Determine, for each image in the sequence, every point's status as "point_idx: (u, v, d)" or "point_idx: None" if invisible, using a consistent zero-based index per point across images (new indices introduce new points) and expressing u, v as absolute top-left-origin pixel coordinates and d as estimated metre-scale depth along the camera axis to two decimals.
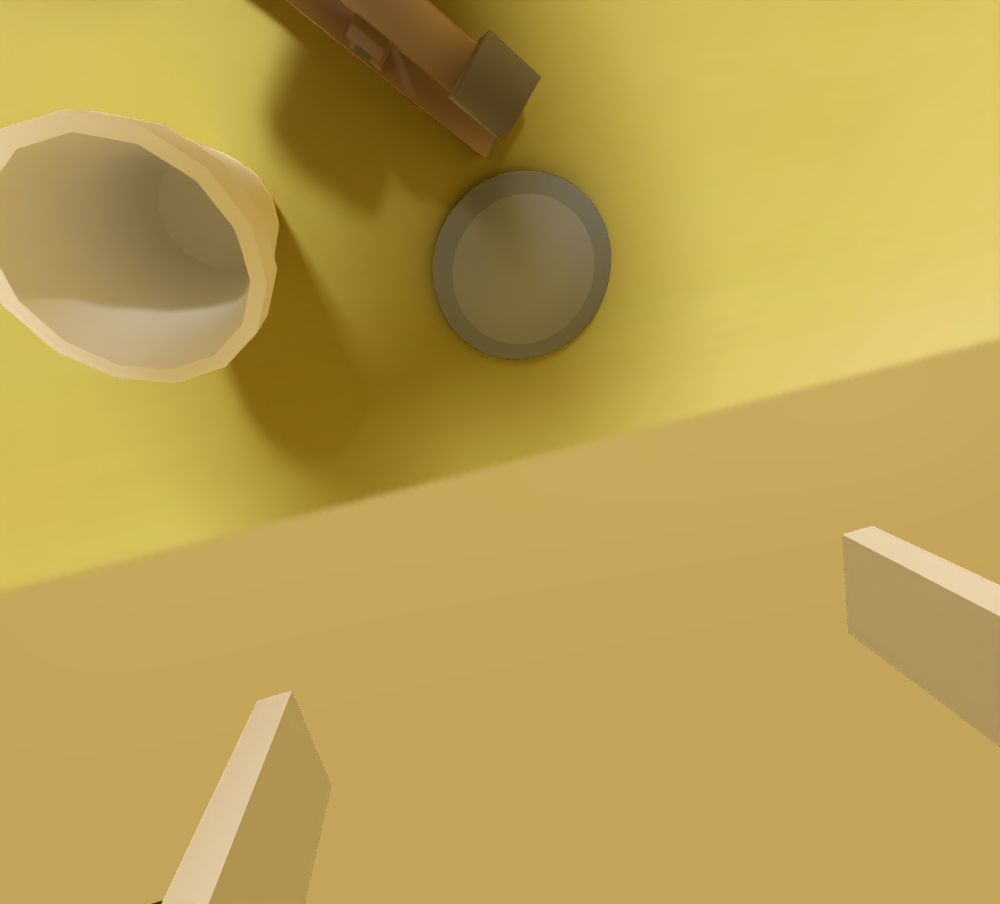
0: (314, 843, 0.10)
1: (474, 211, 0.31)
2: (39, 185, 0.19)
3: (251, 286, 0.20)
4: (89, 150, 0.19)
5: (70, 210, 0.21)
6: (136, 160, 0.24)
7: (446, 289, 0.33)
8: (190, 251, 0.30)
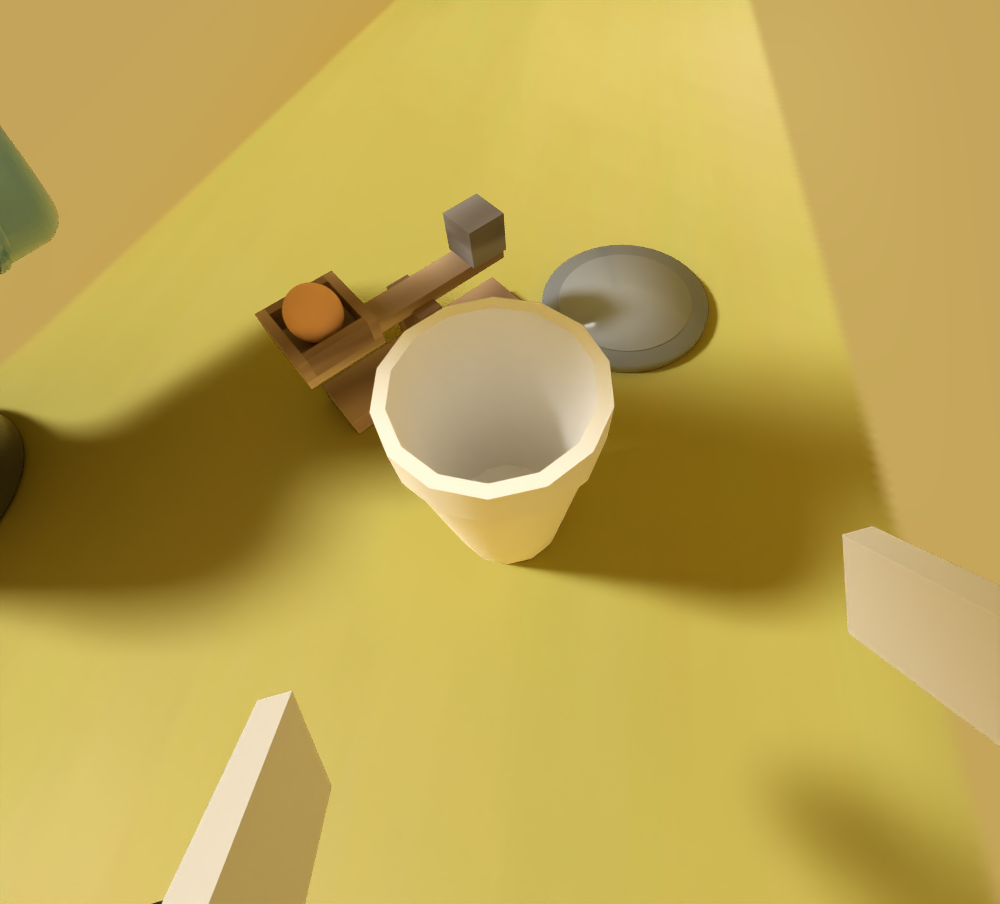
0: (314, 843, 0.10)
1: None
2: None
3: (539, 313, 0.21)
4: (413, 440, 0.23)
5: None
6: None
7: (622, 356, 0.35)
8: None
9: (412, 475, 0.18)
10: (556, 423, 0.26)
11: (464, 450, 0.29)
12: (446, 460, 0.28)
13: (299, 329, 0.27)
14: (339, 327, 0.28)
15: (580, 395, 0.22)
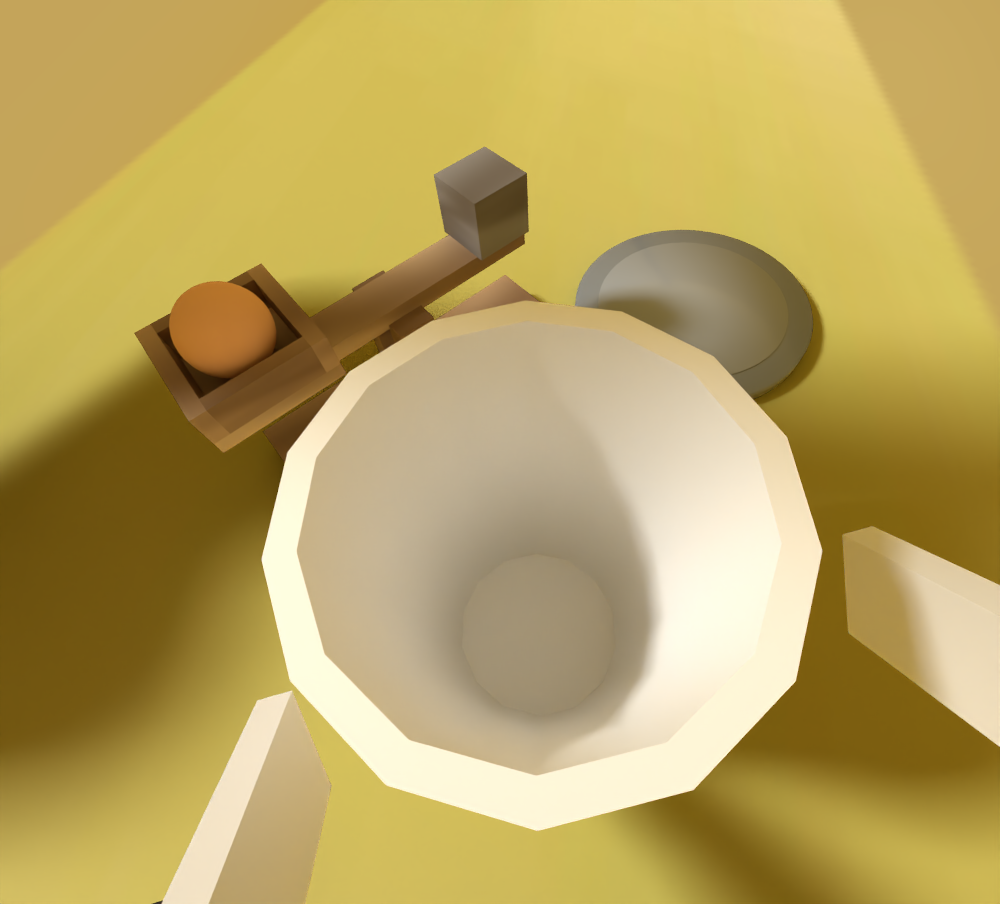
0: (314, 843, 0.10)
1: None
2: (378, 654, 0.10)
3: (621, 332, 0.11)
4: (374, 573, 0.12)
5: (442, 698, 0.12)
6: (432, 631, 0.16)
7: None
8: (575, 696, 0.18)
9: (347, 740, 0.07)
10: (627, 515, 0.15)
11: (469, 546, 0.18)
12: (440, 569, 0.17)
13: (195, 358, 0.16)
14: (267, 353, 0.17)
15: (697, 490, 0.11)
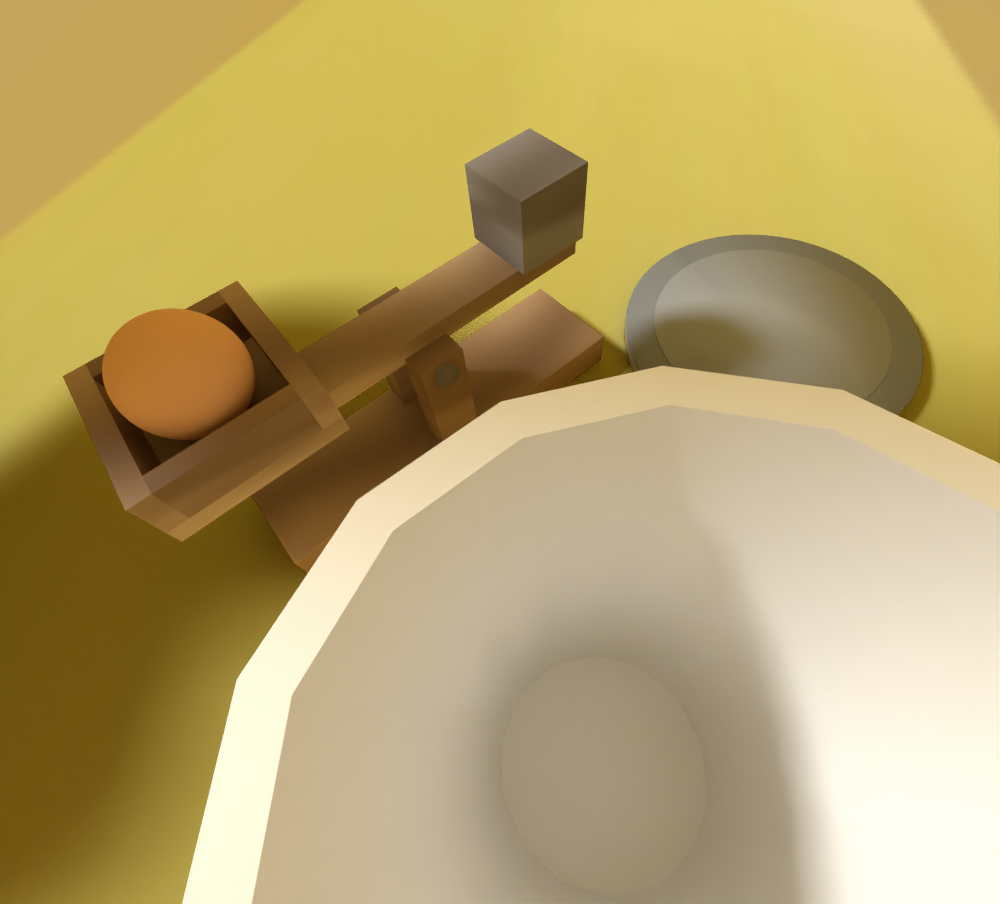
0: None
1: None
2: None
3: (853, 432, 0.06)
4: (396, 814, 0.07)
5: None
6: (471, 813, 0.11)
7: None
8: (658, 868, 0.14)
9: None
10: (760, 655, 0.10)
11: (516, 667, 0.13)
12: (481, 712, 0.12)
13: (137, 418, 0.12)
14: (241, 406, 0.13)
15: (957, 694, 0.07)
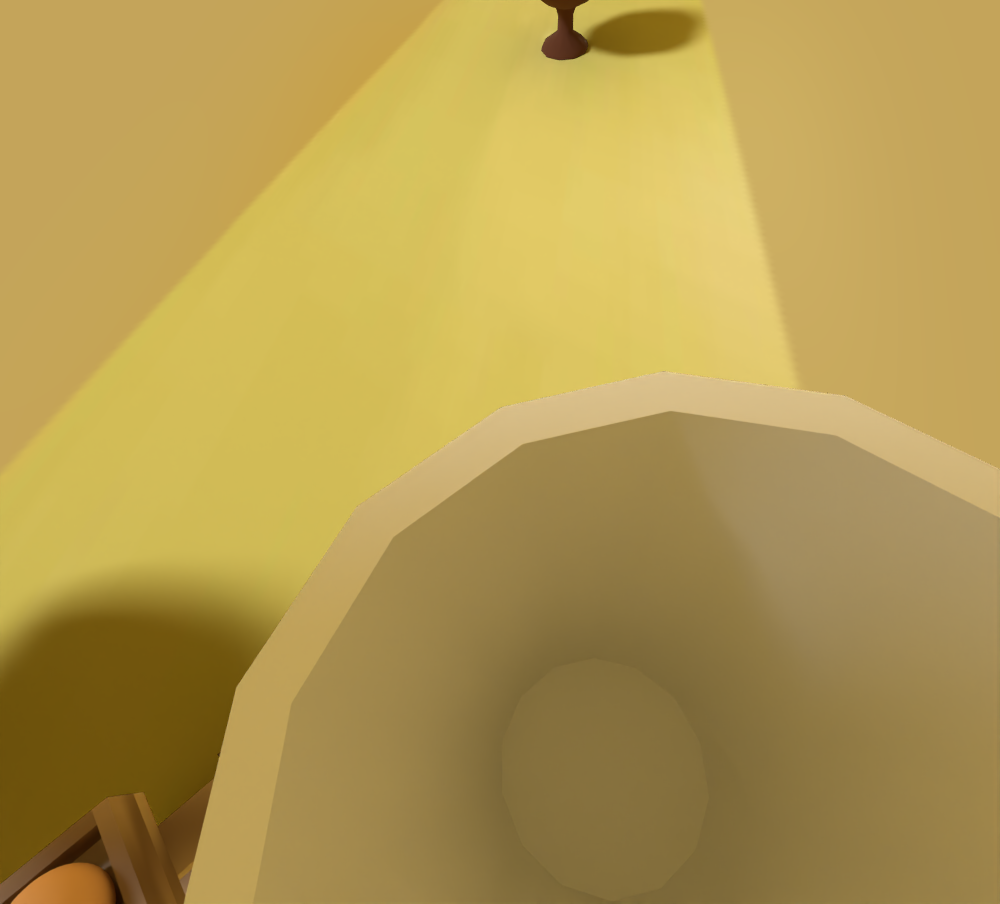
0: None
1: None
2: None
3: (855, 438, 0.06)
4: (396, 820, 0.07)
5: None
6: (471, 817, 0.11)
7: None
8: (658, 872, 0.14)
9: None
10: (761, 660, 0.10)
11: (516, 670, 0.13)
12: (481, 716, 0.12)
13: None
14: None
15: (959, 701, 0.07)
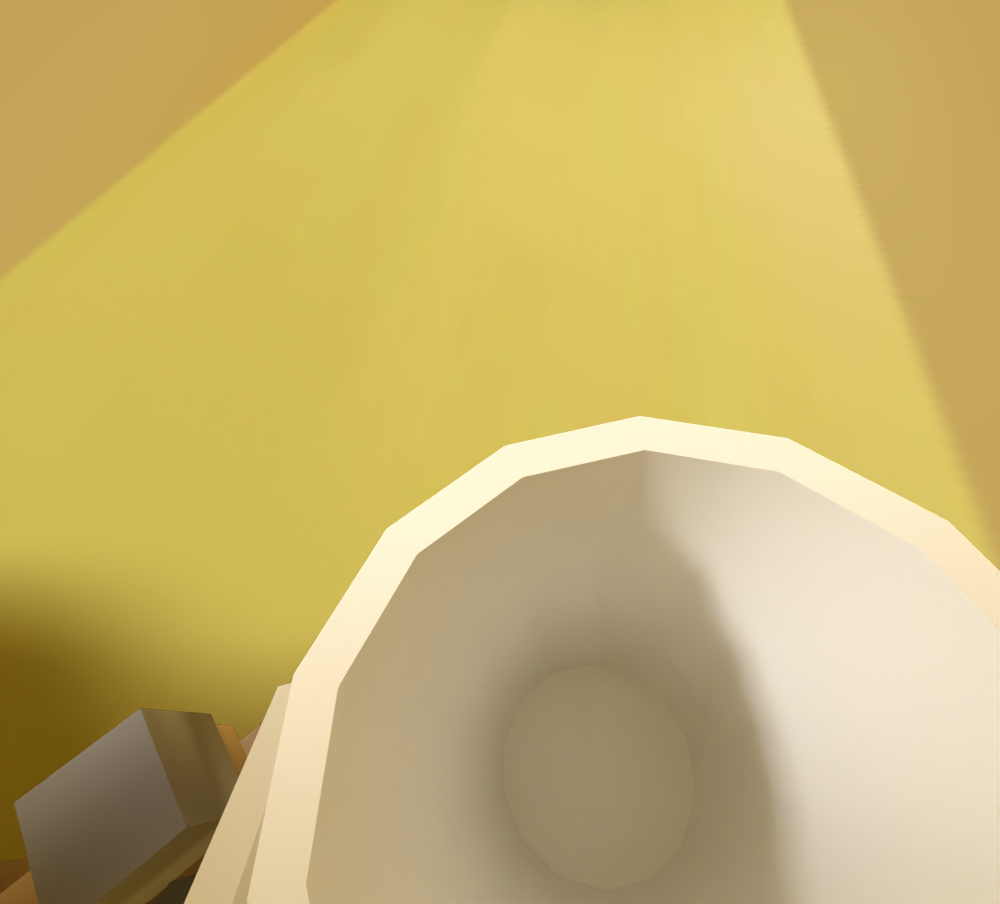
0: None
1: None
2: None
3: (794, 474, 0.07)
4: (414, 796, 0.08)
5: None
6: (476, 806, 0.12)
7: None
8: (648, 864, 0.15)
9: None
10: (736, 663, 0.12)
11: (517, 674, 0.15)
12: (485, 715, 0.13)
13: None
14: None
15: (890, 694, 0.08)
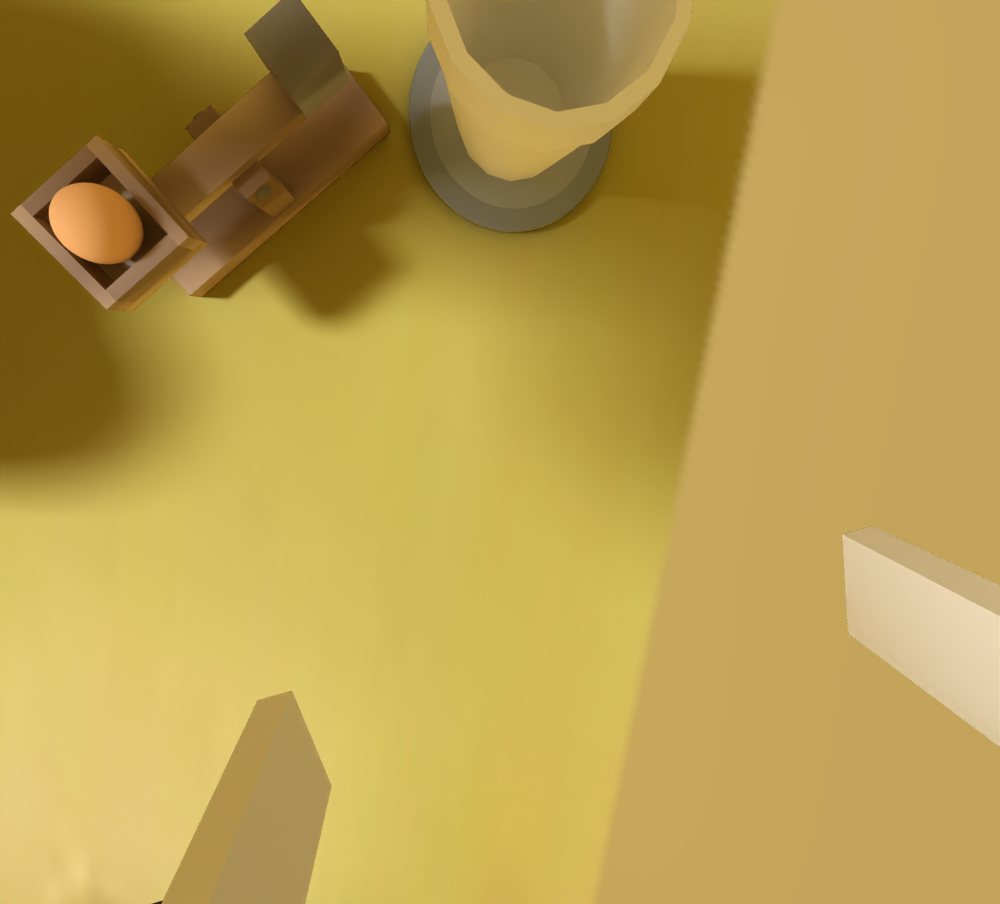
0: (314, 843, 0.10)
1: (434, 155, 0.30)
2: None
3: None
4: None
5: None
6: None
7: (499, 216, 0.31)
8: None
9: (481, 93, 0.18)
10: (595, 16, 0.23)
11: (478, 37, 0.25)
12: None
13: (89, 260, 0.22)
14: (141, 243, 0.23)
15: None
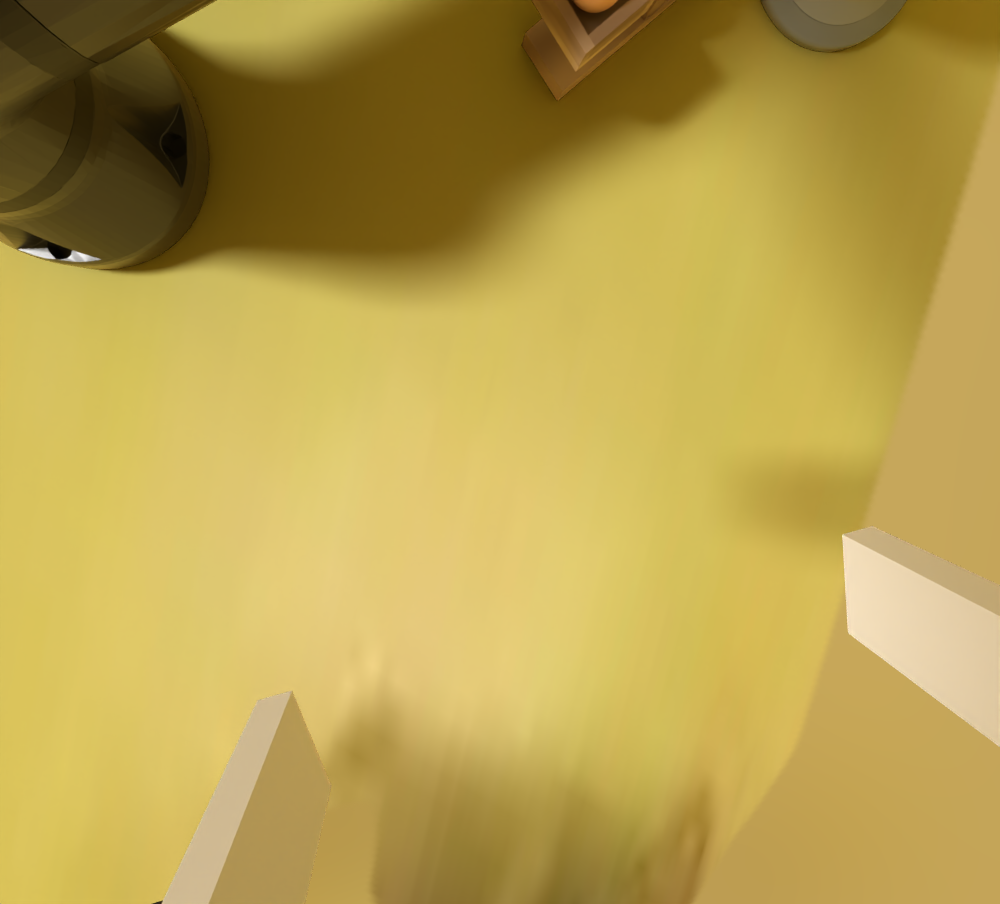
0: (314, 843, 0.10)
1: None
2: None
3: None
4: None
5: None
6: None
7: (822, 31, 0.35)
8: None
9: None
10: None
11: None
12: None
13: (591, 1, 0.26)
14: None
15: None
